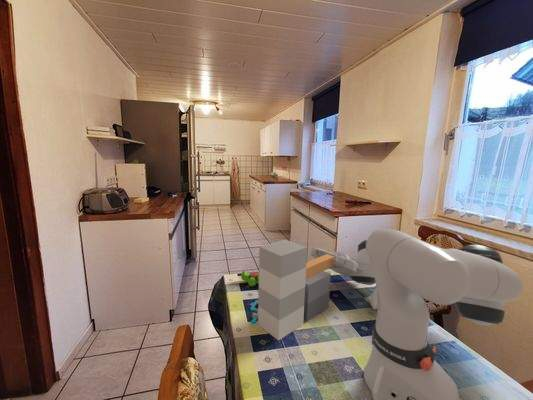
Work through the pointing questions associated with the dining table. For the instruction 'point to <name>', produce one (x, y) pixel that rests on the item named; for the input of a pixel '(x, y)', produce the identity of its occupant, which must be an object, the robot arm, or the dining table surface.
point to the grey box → (316, 295)
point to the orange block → (319, 265)
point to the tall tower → (281, 287)
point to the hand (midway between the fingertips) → (324, 254)
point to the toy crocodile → (250, 278)
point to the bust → (374, 299)
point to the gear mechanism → (255, 315)
